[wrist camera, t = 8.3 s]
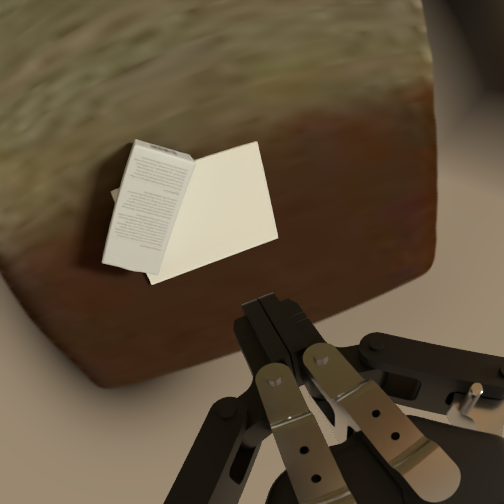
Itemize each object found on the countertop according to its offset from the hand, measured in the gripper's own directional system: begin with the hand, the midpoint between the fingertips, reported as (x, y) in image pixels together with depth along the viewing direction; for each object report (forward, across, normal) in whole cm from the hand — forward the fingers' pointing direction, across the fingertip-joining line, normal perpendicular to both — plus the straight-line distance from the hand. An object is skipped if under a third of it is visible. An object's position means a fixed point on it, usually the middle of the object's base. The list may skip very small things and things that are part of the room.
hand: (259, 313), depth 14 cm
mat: (+22, 0, +4) cm, 22 cm away
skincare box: (+20, +1, -5) cm, 20 cm away
